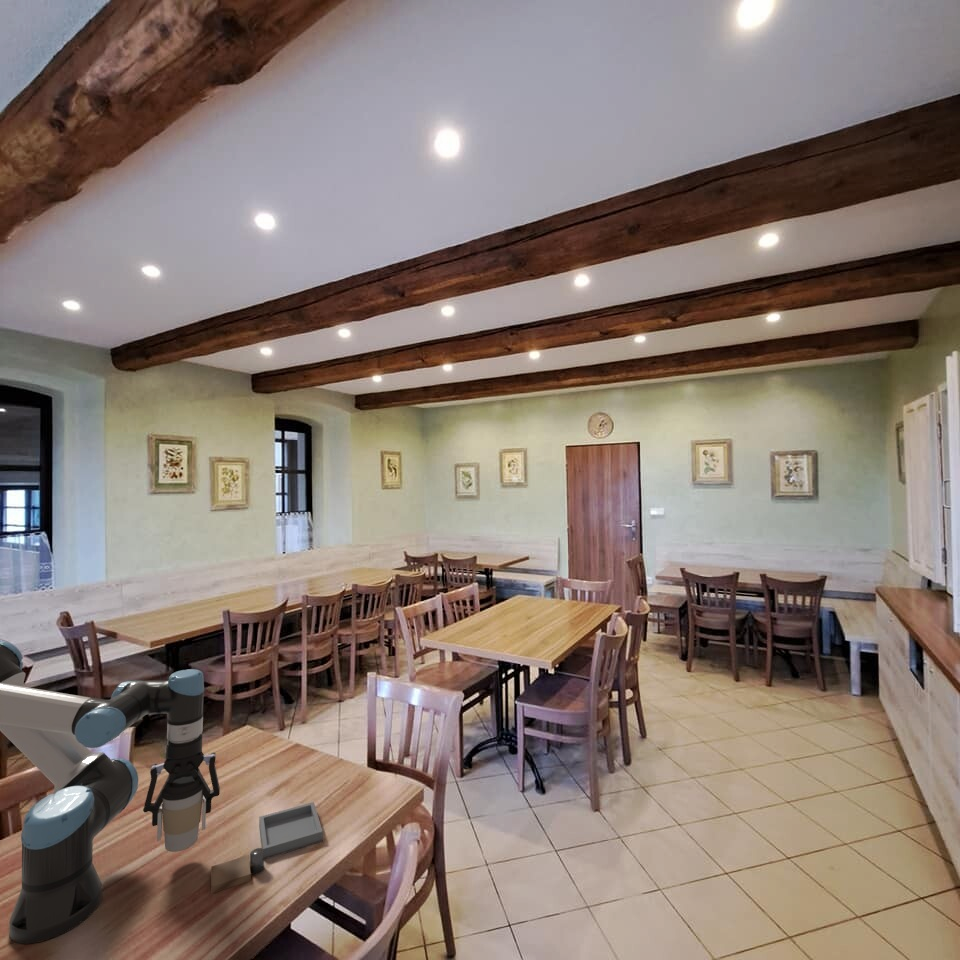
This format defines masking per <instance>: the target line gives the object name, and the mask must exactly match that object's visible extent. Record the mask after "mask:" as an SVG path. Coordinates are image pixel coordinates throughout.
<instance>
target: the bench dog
mask: <svg viewBox="0 0 960 960" xmlns="http://www.w3.org/2000/svg"><path fill="white" fill-rule="evenodd" d="M249 862H250V872H251V875H258V874H260V873H262V872H263V871H264V869H265V859H264V849H262V847H257V848H254V849H253V850H251V852H250V853H249Z"/></svg>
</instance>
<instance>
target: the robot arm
mask: <svg viewBox="0 0 960 960" xmlns="http://www.w3.org/2000/svg"><path fill="white" fill-rule="evenodd" d="M23 667H24V662H23V654H22V652H21V651H20V649H19V647H17V646H16V645H14V644H13V643H11V642H9V641H5V640H1V639H0V732H1V734H3V735H4V736H5V737H6V738H7V739H8V740H9V741H10V743H12V744H13V745H14V746H15V747H16V749H18V750H19V751H20V752H21V753H22V754H23V755H24V756H25V757H26V758H27V759H28V760H29V761H30V762H31V764H33V765H34V766H35V767H36V769H38V770H39V771H40V772H41V774H43V775H44V776H45V778H47V779H48V780H49V781H50V782H51V783H52V784H53V785H54V788H53V793H49V794H48V795H45V796H44V797H42V798H41V799H40V800H38V801H37V802H36V803H35V804H33V806H31V807H30V808H29V810H28V811H27V813H26V814H25V816H24V819H23V824H22V830H21V834H20V837H21V848H22V849H21V889H20V892H19V895H18V898H17V900H16V902H15V906H14V908H13V911H12V913H11V916H10V920H9V926H8V927H9V928H8V929H9V933H8V934H9V935H8V936H9V938H10V939H11V940H12V941H13V942H15V943H18V944H34V943H40V942H43V941H44V942H45V941H48V940H50V939H53V938H56V937H58V936H61V935H62V934H65V933H67V932H68V931H70V930H72V929H74V928H75V927H76V926H78V925H80V924H81V923H83V922H84V921H85V920H86V919H88V918H89V917H90V916H91V915H92V914H93V913H94V912H95V911H96V910H97V908H98V907H99V905H100V903H101V902H102V898H103V885H102V881H101V879H100V876H99V874H98V871H97V870H96V868H95V865H94V864H93V862H94V861H93V855H94V854H93V850H94V849H93V847H94V845H93V842H94V839H95V838H96V836H97V835H99V833H101V832H102V831H103V830H104V829H105V828H106V827H107V826H108V825H109V824H110V823H111V822H112V821H113V820H114V819H115V818H116V817H117V815H119V814H120V813H122V811H124V810H125V809H126V808H127V806H128V804H129V803H130V802H131V801H132V799H134V797H135V795H136V793H137V791H138V787H139V786H138V785H139V774H138V772H137V769H136V767H135V766H134V764H133V763H132V762H131V761H130V760H127V759H125V758H118V757H117V758H116V757H115V758H110V757H109V756H108V755H107V754H106V753H105V752H93V751H91V750H90V749H95V748H100V747H102V746H104V745H106V744H108V743H110V742H111V741H113V740H115V739H116V738H117V737H119V736H120V735H121V734H122V733H124V731H126V730H127V729H128V728H130V727H131V726H133V724H135V723H137V722H138V721H139V720H141V719H142V718H143V717H145V716H146V715H164V714H166V716H167V724H166V726H167V727H166V729H167V730H166V739H167V740H166V751H165V752H166V753H165V756H166V757H165V760H164V762H162V763H159V764H157V763H153V764H152V765H151V768H150V770H149V773H150V782H149V786H148V791H147V793H146V794H147V795H146V797H145V801H144V805H143V810H142V811H143V812H144V813H148V812H150V813H151V814H152V815H151V826H152V827H155V826H156V830H157V831H156V842H159V841H161V840H162V834H163V814H162V804H163V798H162V795H163V792H165V791H166V790H167V788H168V786H171V785H172V783H173V781H174V780H175V778H176V779H180V778H182V777H189V776H191V775H192V777H193V779H194V780H195V781H196V780H198V781H199V783H200V784H203V789H202V794H203V800H202V809H201V831H203V830H205V829H206V822H207V821H206V819H207V818H206V816H207V814H210V813H211V811H212V800H213V798H215V797H218V796H220V794H221V793H220V792H221V790H220V789H221V788H220V783H219V777H218V773H217V768H216V755H217V754H216V753H215V752H211V753H210V754H204V752H203V734H202V733H203V727H204V726H203V725H204V723H203V722H204V697H205V696H204V694H205V683H204V682H205V681H204V679H205V678H204V672H203V671H201V670H199V669H197V668H195V669H194V668H190V669H182V670H178V671H175V672H173V673H171V674H170V676H169V677H168V680H141V679H136V680H135V679H134V680H128V681H123V682H121V683H119V684H118V685H117V686H116V689H114V690H113V692H112V694H111V697H110V699H104V698H94V697H89V696H83V695H76V694H69V693H65V692H64V693H63V692H58V691H52V690H45V689H40V688H39V689H38V688H33V687H28V686H26V684H25V682H24V681H25V678H26V675H27V674H26V672H24V670H22V669H23ZM203 762H205V765H207V766H208V771H209V776H210V781H211V786H212V789H211V788H210V787H209V784H208V783H207V781H206V780H205V778H204V776H203V774H202V772H201V769H200V766H201V765H202V763H203ZM162 770H164V771H166V772H167V773H168V776H167V778H166V780H165V782H164V784H163V786H162V787H161V790H160V791H159V793H158V796H157V797H156V799H155V801H154V802H153V801H152V799H153V796H154V793H155V790H156V785H157V780H158V777H159V775H161V774H162Z"/></svg>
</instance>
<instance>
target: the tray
mask: <svg viewBox="0 0 960 960" xmlns="http://www.w3.org/2000/svg"><path fill="white" fill-rule="evenodd" d="M258 818H259V819H258V820H259V821H258V822H259V823H258V827H259V835H260V836H259V837H260V844H261V848H262V849H264V860H266V859H270V858H273V857H276V856H279V855H283V854H286V853H289V852H291V851H296V850H299V849H302V848H305V847H308V846H312V845H315V844H318V843H322V842H323V839H324V838H323V836H324V835H323V829H322V826H321V822H320V819H319V814H318V812H317V809H316V805H315V802H314V801H312V802H309V803H305V804H302V805H299V806H293V807H291V808H287V809H284V810H279V811H277V812H272V813H268V814H265V815H264V814H263V815H260V816H259V817H258Z"/></svg>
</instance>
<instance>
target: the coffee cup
mask: <svg viewBox="0 0 960 960" xmlns="http://www.w3.org/2000/svg"><path fill="white" fill-rule="evenodd" d="M202 789H203V784H200V783H199V781H198V780H196V781H195V780H194V779H193V777H192V775H191V776H189V777H182V778H180V779H176V778H175V780H174V781H173V783H172V785H171V786H168V788H167V790H166V791H165V792H163V795H162V798H163V802H162V804H161V806H162V831H163V832H164V833H163V834H164V835H163V836H164V848H165V850H166V851H167V852H171V853H173V852H175V853H176V852H181V851H185V850H187V849H190V848H191V847H193V846H194V845H195V844H196V843H197V841H198V837H199V829H200V823H201V819H202V803H203V797H204V795H203V794H202Z"/></svg>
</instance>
